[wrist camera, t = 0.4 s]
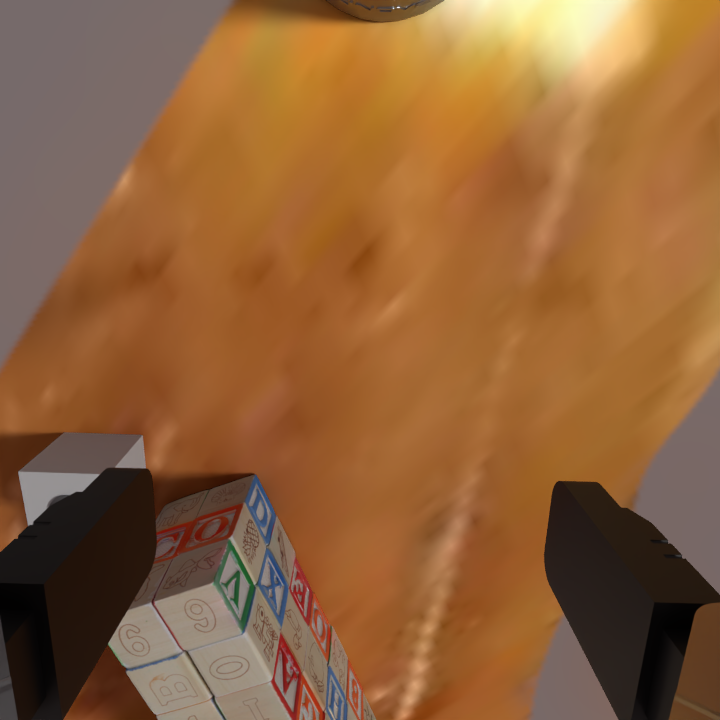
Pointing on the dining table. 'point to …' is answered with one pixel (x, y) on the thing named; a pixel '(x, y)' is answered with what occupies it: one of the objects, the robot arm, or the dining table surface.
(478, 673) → the dining table surface
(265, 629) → the stack of blocks
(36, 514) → the grey marked cube
